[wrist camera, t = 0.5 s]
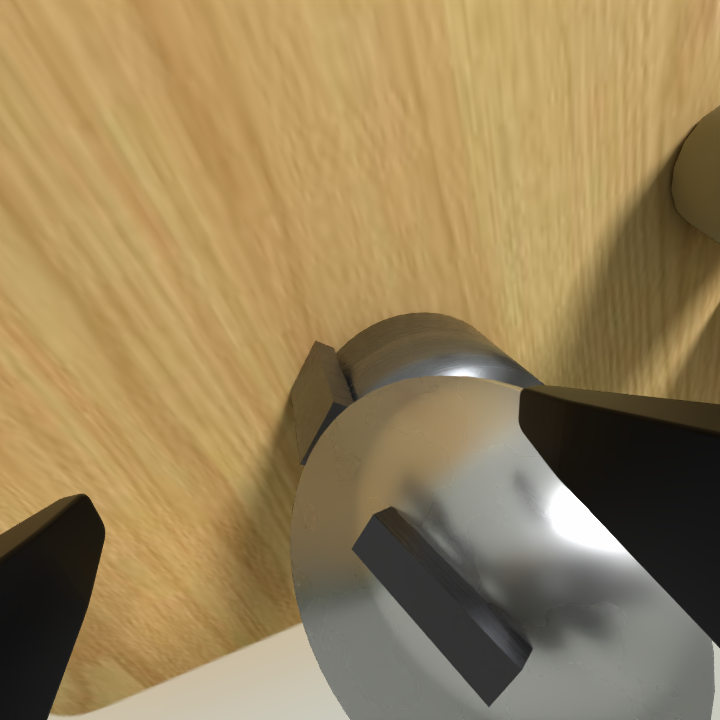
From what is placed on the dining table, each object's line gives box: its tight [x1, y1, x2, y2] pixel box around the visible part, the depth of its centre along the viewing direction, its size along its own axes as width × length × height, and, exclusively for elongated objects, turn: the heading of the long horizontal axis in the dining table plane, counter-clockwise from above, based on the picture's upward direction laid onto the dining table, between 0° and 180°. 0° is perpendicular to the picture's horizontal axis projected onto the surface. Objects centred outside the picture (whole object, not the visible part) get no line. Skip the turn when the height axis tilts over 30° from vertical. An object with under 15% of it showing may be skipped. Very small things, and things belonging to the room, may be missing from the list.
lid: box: [290, 376, 715, 720], centre depth 12 cm, size 12×12×2 cm
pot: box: [291, 313, 544, 465], centre depth 21 cm, size 12×11×6 cm
